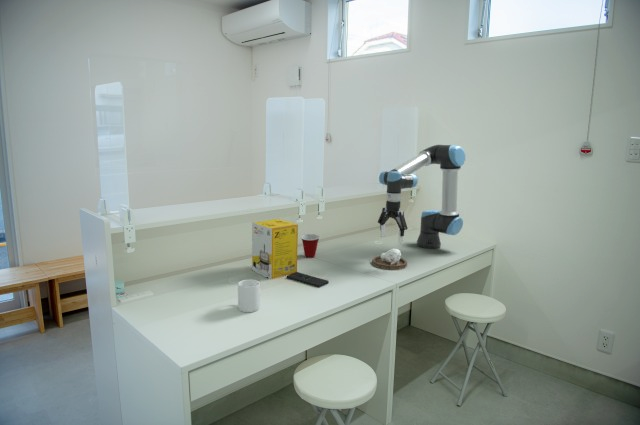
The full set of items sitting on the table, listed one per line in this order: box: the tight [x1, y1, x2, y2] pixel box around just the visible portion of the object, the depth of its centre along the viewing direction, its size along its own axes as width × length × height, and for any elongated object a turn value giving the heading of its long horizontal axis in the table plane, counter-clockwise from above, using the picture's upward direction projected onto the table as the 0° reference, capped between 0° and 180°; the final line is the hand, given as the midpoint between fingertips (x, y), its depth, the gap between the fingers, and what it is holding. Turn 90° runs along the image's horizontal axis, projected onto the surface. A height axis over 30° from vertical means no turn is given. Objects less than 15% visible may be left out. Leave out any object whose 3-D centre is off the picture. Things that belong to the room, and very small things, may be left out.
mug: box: [237, 279, 261, 313], centre depth 171 cm, size 9×12×11 cm
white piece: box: [380, 248, 402, 265], centre depth 232 cm, size 6×8×12 cm
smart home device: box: [286, 271, 330, 288], centre depth 204 cm, size 8×2×20 cm
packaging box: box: [251, 218, 299, 280], centre depth 213 cm, size 16×16×25 cm
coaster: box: [371, 255, 408, 271], centre depth 233 cm, size 18×18×2 cm
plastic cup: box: [300, 233, 320, 259], centre depth 242 cm, size 11×11×12 cm
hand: (391, 239), depth 230 cm, fingers open, 13 cm apart
